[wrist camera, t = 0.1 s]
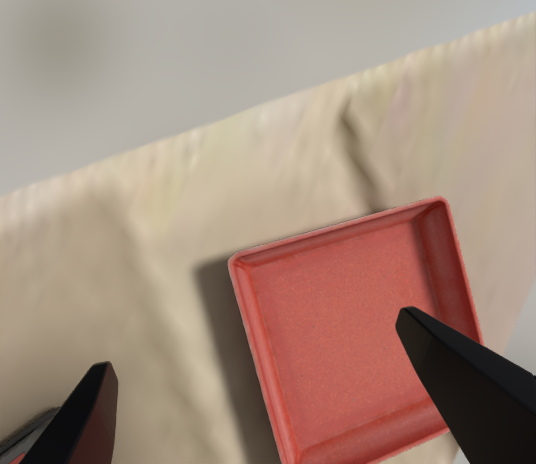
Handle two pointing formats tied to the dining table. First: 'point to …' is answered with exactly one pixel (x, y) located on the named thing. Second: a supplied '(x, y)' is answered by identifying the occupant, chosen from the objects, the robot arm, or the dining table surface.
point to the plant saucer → (351, 330)
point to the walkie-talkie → (24, 439)
